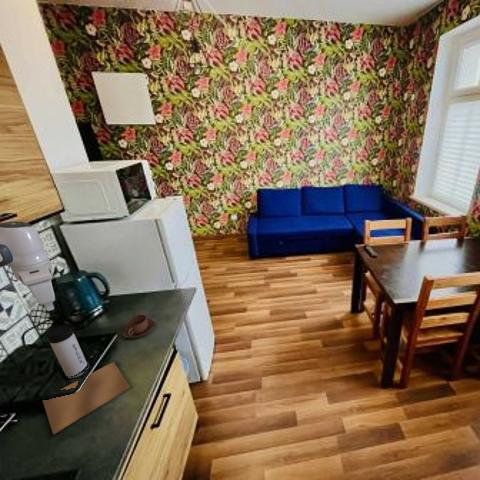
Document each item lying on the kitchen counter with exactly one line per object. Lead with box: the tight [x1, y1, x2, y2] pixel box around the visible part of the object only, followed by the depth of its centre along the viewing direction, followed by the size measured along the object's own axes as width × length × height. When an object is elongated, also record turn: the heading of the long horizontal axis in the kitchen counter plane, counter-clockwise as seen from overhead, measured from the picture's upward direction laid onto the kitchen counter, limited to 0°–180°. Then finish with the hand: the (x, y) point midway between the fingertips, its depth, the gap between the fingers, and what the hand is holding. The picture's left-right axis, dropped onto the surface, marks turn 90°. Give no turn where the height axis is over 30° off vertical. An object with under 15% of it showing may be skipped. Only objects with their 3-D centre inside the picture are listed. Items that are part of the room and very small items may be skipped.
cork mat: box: [42, 361, 131, 435], centre depth 91 cm, size 20×17×1 cm
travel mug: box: [44, 324, 89, 380], centre depth 95 cm, size 6×7×20 cm
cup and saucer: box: [122, 314, 155, 339], centre depth 117 cm, size 12×12×6 cm
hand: (48, 303), depth 93 cm, fingers open, 8 cm apart
